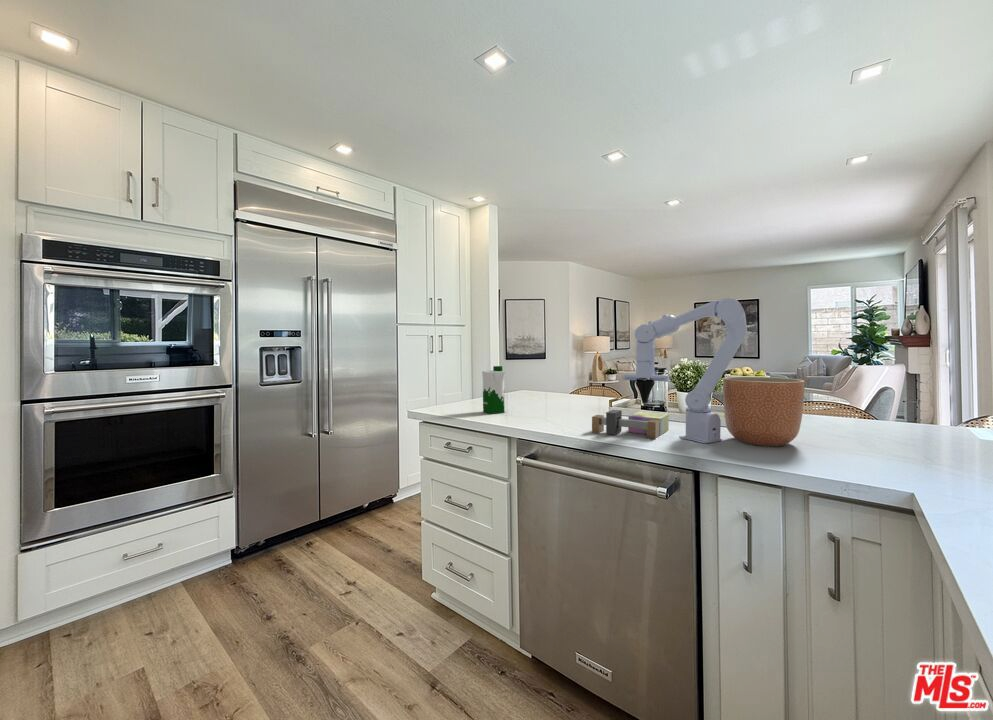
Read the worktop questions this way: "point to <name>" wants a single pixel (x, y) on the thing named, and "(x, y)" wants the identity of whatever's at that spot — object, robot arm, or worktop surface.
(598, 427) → the pipe rig
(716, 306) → the robot arm
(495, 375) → the milk carton
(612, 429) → the collar
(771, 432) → the planter
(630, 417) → the box
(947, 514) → the worktop surface
